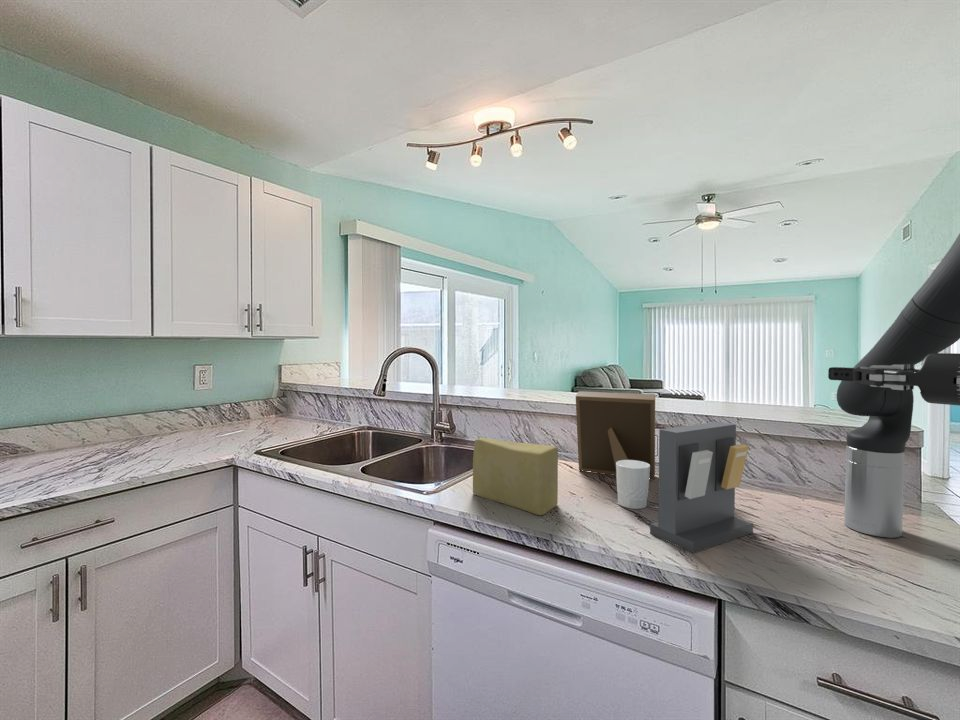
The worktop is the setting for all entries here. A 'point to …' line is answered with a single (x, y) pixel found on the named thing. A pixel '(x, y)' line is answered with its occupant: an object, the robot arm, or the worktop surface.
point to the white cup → (632, 483)
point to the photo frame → (615, 430)
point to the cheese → (516, 474)
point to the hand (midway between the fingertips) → (830, 373)
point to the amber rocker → (734, 466)
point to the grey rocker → (698, 474)
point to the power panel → (705, 515)
